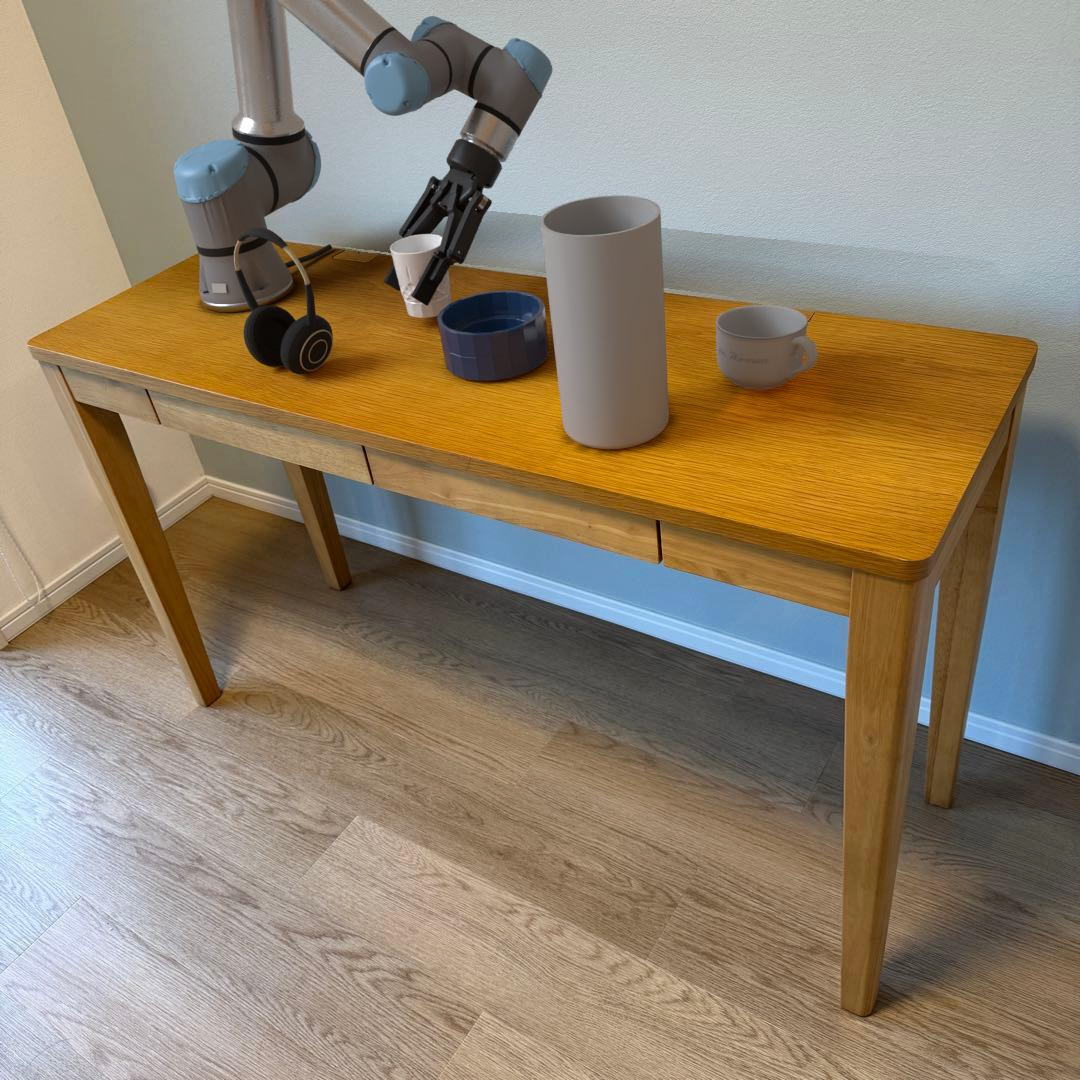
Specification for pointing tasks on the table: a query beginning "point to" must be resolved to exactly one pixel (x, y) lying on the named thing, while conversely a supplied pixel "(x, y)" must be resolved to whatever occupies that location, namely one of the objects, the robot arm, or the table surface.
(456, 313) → the navy blue bowl
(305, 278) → the headphones
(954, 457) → the table surface
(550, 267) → the cylinder vase
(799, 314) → the teacup
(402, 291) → the white cup
